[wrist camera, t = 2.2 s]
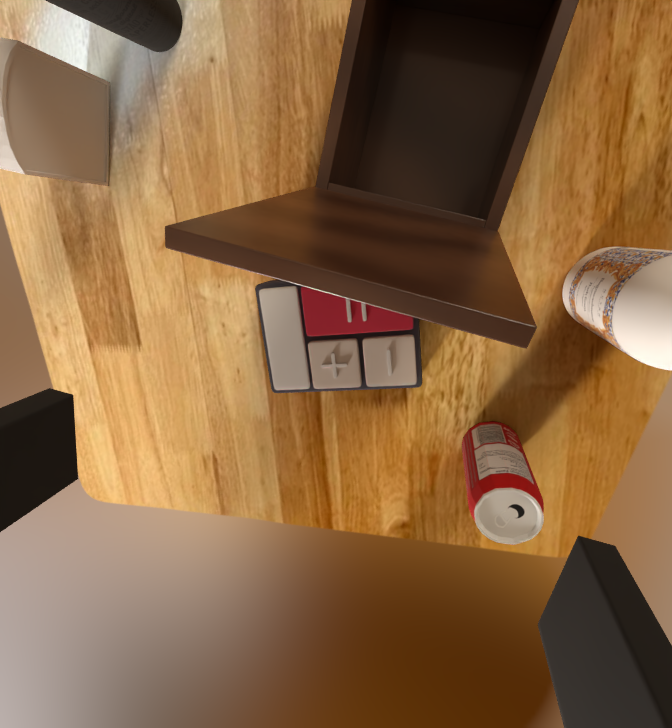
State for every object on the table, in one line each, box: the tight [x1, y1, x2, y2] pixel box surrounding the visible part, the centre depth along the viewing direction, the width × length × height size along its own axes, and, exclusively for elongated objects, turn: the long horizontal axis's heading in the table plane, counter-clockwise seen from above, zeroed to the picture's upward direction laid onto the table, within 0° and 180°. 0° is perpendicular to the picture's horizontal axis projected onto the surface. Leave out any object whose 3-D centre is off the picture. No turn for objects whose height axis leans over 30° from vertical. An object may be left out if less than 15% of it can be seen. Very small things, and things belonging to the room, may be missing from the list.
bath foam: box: [562, 247, 672, 370], centre depth 26 cm, size 7×7×20 cm
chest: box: [315, 0, 579, 231], centre depth 30 cm, size 16×13×10 cm
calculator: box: [255, 280, 422, 393], centre depth 40 cm, size 11×4×15 cm
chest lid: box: [165, 187, 537, 348], centre depth 21 cm, size 17×13×1 cm
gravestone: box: [0, 38, 110, 186], centre depth 33 cm, size 3×9×18 cm, turn 168°
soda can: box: [462, 421, 544, 545], centre depth 36 cm, size 6×6×12 cm
